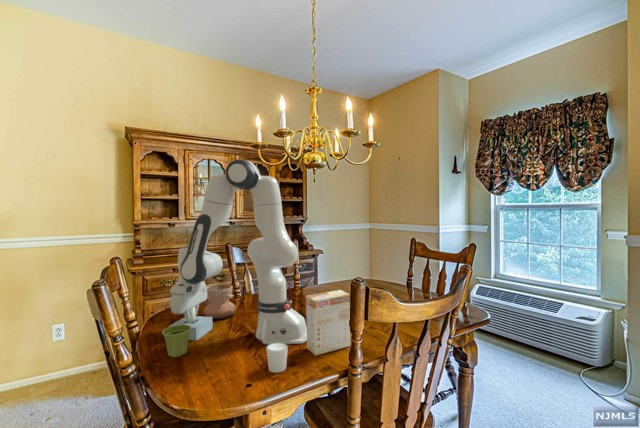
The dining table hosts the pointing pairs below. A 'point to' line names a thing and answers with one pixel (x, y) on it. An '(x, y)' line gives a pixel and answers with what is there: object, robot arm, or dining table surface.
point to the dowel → (192, 313)
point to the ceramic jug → (219, 301)
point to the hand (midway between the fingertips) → (191, 317)
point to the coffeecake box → (328, 321)
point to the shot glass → (277, 356)
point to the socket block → (197, 326)
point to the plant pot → (176, 339)
